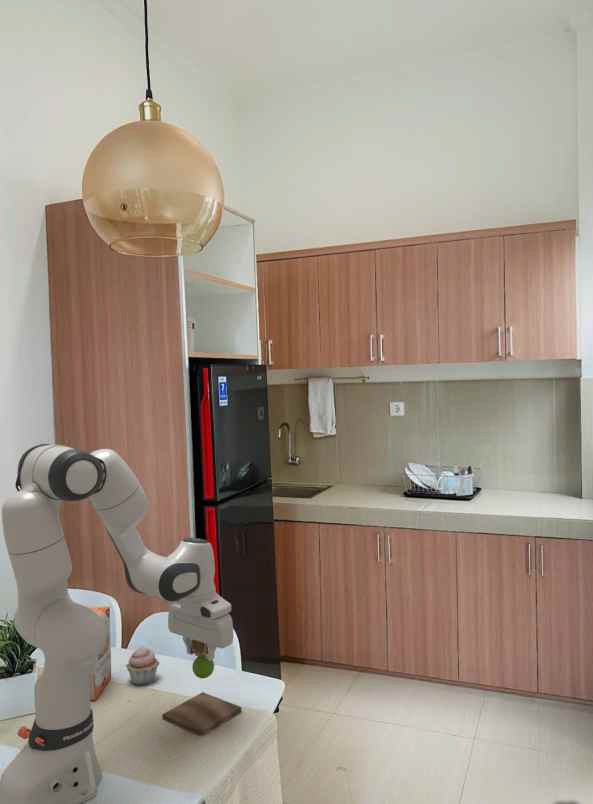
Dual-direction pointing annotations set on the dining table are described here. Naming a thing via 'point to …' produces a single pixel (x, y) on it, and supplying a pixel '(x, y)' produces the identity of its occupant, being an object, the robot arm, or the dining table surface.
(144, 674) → the cupcake
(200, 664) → the snail figurine
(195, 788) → the dining table surface
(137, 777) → the dining table surface
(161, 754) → the dining table surface
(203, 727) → the walnut board
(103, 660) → the cracker box
